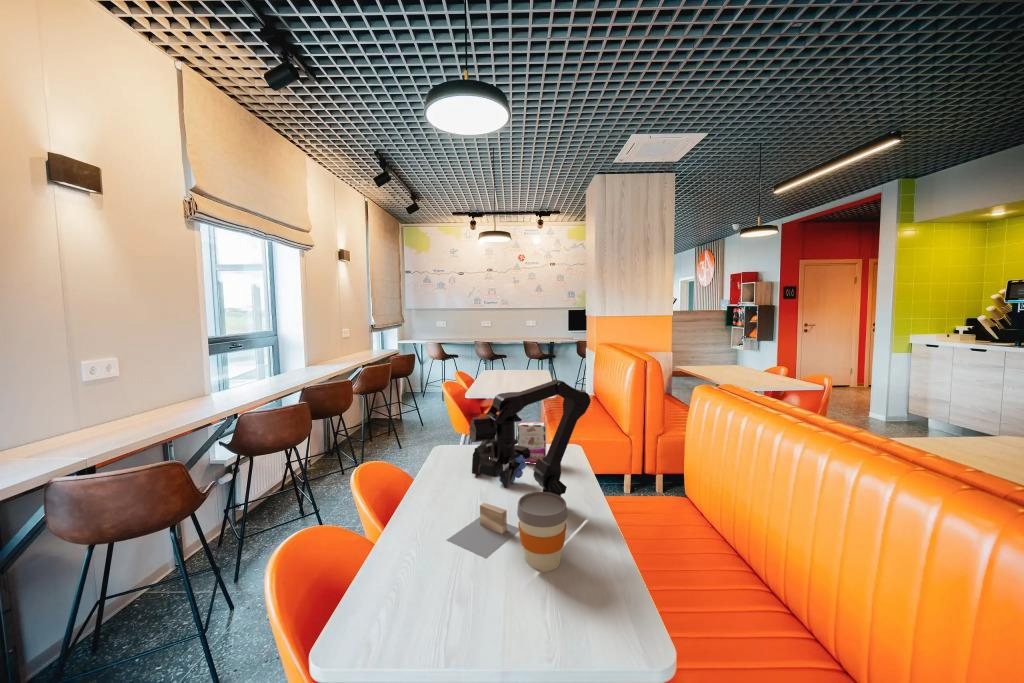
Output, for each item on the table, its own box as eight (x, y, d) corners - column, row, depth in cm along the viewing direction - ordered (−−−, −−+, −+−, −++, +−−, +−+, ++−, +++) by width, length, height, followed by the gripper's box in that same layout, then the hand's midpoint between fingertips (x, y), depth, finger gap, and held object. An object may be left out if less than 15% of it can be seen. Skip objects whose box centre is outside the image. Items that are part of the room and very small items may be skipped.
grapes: (524, 477, 148) (524, 446, 147) (527, 485, 141) (526, 452, 140) (493, 478, 147) (493, 447, 146) (494, 486, 140) (494, 454, 139)
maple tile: (485, 521, 116) (485, 502, 116) (507, 529, 112) (506, 509, 111) (480, 525, 114) (479, 505, 114) (502, 534, 110) (501, 513, 109)
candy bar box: (546, 460, 163) (546, 422, 162) (545, 465, 158) (545, 425, 157) (519, 459, 165) (519, 421, 164) (518, 463, 160) (517, 424, 159)
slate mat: (483, 516, 120) (483, 514, 120) (521, 530, 112) (521, 528, 112) (446, 542, 107) (446, 540, 107) (486, 560, 99) (486, 558, 99)
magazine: (478, 456, 145) (493, 412, 172) (469, 456, 145) (486, 412, 173) (482, 493, 151) (496, 445, 179) (473, 492, 152) (489, 444, 179)
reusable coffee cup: (533, 583, 91) (533, 521, 90) (509, 553, 102) (508, 498, 101) (577, 566, 97) (577, 507, 95) (549, 539, 108) (549, 487, 106)
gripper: (502, 424, 128) (502, 470, 130) (463, 440, 113) (465, 492, 114) (531, 430, 122) (531, 478, 123) (494, 448, 107) (495, 503, 108)
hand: (506, 487), depth 117 cm, fingers closed
